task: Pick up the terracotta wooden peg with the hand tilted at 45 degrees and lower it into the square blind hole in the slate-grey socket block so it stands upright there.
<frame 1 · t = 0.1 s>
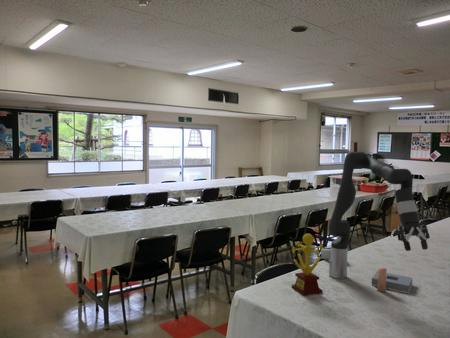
hand: (416, 250, 149), 31 cm above the table, tool tilted 20°, fingers open, 8 cm apart
peg: (381, 290, 185), on the table
trophy: (306, 290, 184), on the table
socket block: (391, 285, 193), on the table
hinge: (333, 261, 235), on the table
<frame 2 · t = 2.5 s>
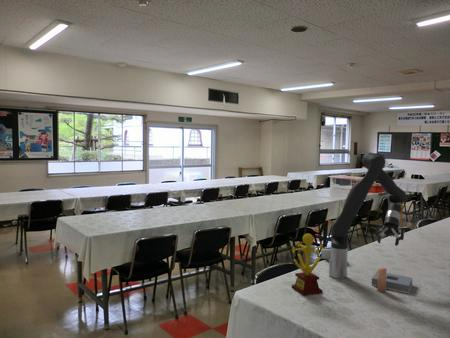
hand: (387, 243, 193), 23 cm above the table, tool tilted 45°, fingers open, 8 cm apart
nothing on the table moved.
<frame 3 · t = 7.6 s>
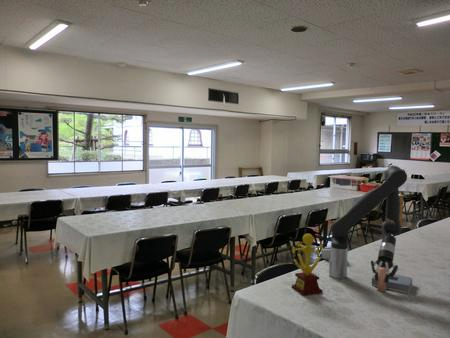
hand: (381, 281, 183), 6 cm above the table, tool tilted 45°, fingers closed on peg, 4 cm apart
peg: (381, 290, 185), on the table, touching gripper
everything else where it was.
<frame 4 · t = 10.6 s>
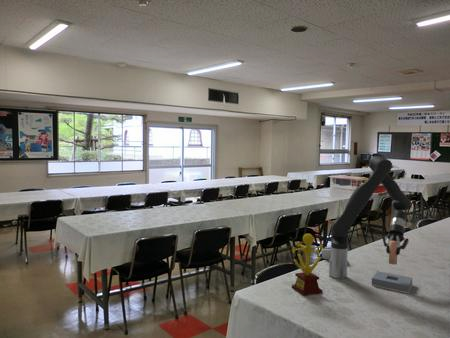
hand: (392, 253, 190), 18 cm above the table, tool tilted 45°, fingers closed on peg, 4 cm apart
peg: (392, 263, 192), point 12 cm above the table, touching gripper
everything else where it was.
when the fingers open (7 cm above the table, at t = 13.9 s): peg drops 1 cm, resting on socket block.
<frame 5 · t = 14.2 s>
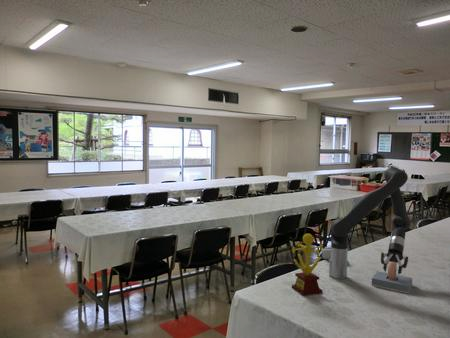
hand: (391, 272, 191), 8 cm above the table, tool tilted 45°, fingers open, 6 cm apart
peg: (391, 284, 193), point 1 cm above the table, touching socket block
everything else where it was.
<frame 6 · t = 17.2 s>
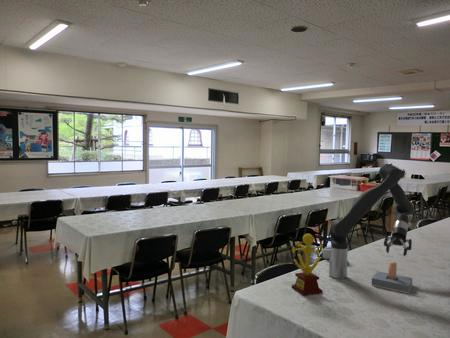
hand: (395, 253, 199), 15 cm above the table, tool tilted 45°, fingers open, 8 cm apart
nothing on the table moved.
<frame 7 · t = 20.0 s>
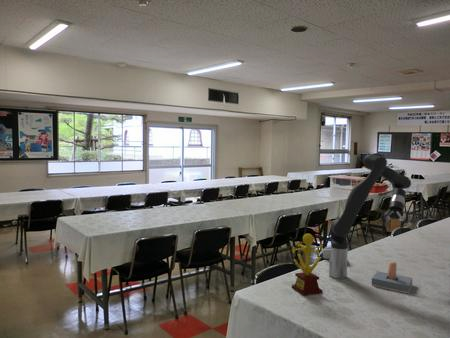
hand: (392, 226, 199), 31 cm above the table, tool tilted 45°, fingers open, 8 cm apart
nothing on the table moved.
at the end: peg 0.1 cm off-centre on the socket block, point 0.5 cm above the socket block's base; peg tilted 1°; the gripper is holding nothing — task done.
